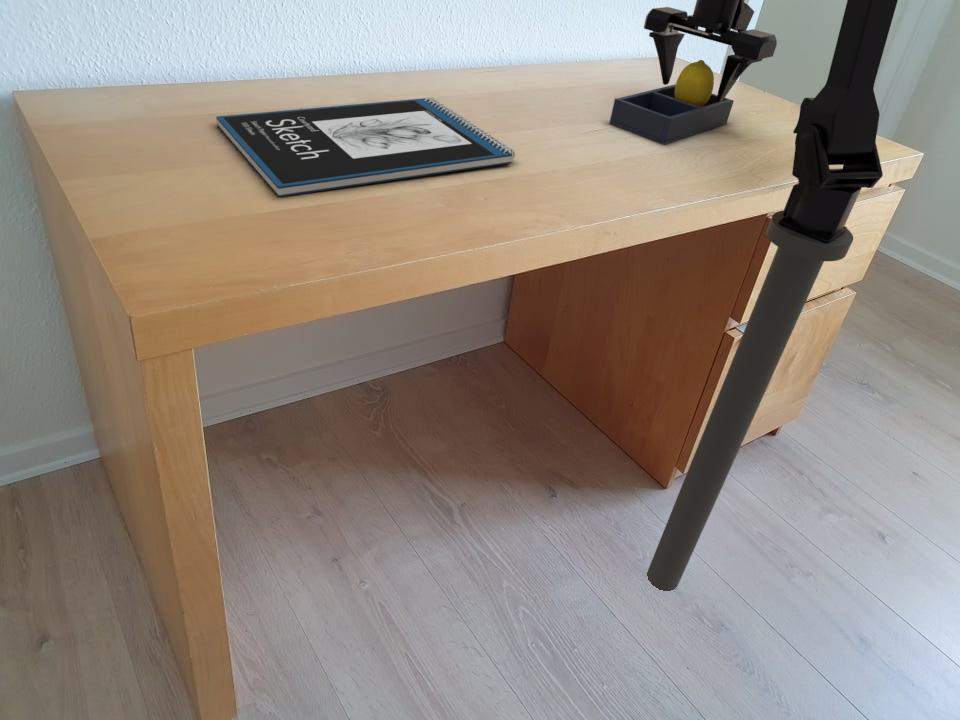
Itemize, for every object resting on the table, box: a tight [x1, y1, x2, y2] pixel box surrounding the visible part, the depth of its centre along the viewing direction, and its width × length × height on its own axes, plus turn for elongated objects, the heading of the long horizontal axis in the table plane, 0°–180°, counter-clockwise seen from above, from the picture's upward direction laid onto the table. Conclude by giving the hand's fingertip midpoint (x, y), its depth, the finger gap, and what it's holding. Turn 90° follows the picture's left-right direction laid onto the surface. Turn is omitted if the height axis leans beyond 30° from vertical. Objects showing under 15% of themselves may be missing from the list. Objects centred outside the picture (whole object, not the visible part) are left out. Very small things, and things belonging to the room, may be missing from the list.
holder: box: [609, 83, 735, 145], centre depth 107 cm, size 10×18×4 cm, turn 136°
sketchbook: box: [215, 96, 516, 198], centre depth 87 cm, size 22×30×2 cm
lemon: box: [674, 59, 715, 107], centre depth 108 cm, size 6×6×8 cm
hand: (691, 92), depth 109 cm, fingers open, 9 cm apart
